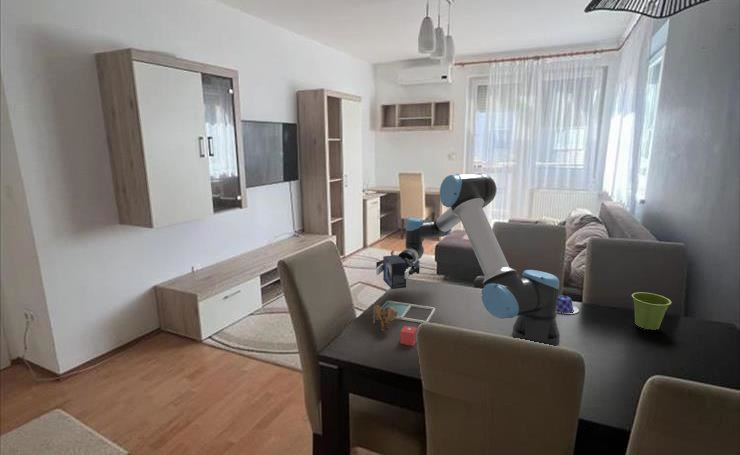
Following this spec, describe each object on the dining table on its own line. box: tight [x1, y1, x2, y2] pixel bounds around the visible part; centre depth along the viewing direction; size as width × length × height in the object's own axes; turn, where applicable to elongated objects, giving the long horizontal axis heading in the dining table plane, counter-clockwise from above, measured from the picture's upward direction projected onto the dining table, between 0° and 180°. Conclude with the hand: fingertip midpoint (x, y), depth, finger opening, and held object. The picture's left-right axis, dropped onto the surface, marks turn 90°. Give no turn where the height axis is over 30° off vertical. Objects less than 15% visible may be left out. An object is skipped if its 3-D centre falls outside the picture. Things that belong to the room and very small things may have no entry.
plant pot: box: [631, 291, 672, 330], centre depth 148 cm, size 12×12×11 cm
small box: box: [382, 254, 407, 290], centre depth 160 cm, size 11×6×10 cm, turn 17°
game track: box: [376, 300, 436, 324], centre depth 162 cm, size 21×14×1 cm
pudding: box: [556, 294, 580, 315], centre depth 165 cm, size 12×12×5 cm
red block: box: [400, 325, 418, 347], centre depth 138 cm, size 4×4×5 cm
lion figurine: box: [369, 304, 398, 331], centre depth 150 cm, size 15×5×9 cm, turn 37°
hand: (391, 273), depth 157 cm, fingers closed on small box, 11 cm apart
